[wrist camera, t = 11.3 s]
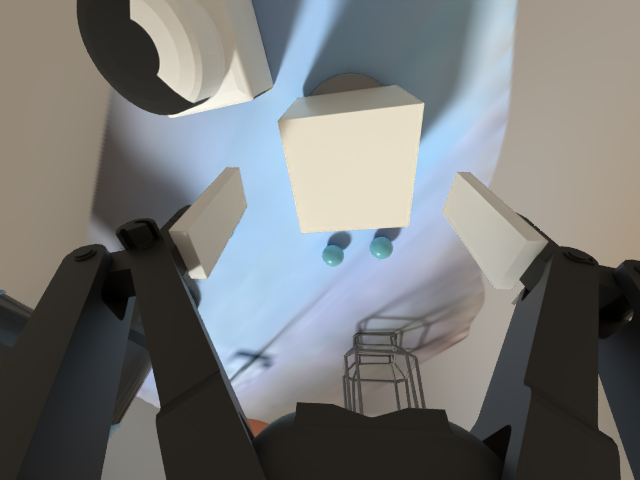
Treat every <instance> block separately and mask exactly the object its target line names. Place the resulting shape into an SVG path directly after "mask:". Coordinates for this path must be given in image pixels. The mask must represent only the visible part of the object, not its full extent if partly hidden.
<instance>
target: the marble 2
mask: <svg viewBox="0 0 640 480" xmlns="http://www.w3.org/2000/svg"><path fill="white" fill-rule="evenodd" d="M392 251H393V245H392V243H391V241H390V240H389V239H388V238H386V237H377V238H375V239H374V240H373V241H372V242H371V244H370V252H371V254H372V255H373V256H374V257H375V258H378V259H385V258H387V257H389V256H390V255H391V253H392Z"/></svg>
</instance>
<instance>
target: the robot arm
mask: <svg viewBox="0 0 640 480" xmlns="http://www.w3.org/2000/svg"><path fill="white" fill-rule="evenodd" d="M246 208H247V203H246V199H245V194H244V189H243V184H242V180H241V175H240V170H239V168H238V167H226V168H225V170H224V171H223V172H222V173H221V174H220V175H219V176H218V177H217V178H216V179H215V180H214V182H213V183H212V184H211V185H210V186H209V187H208V188H207V189H206V190H205V191H204V192H203V194H202V195H201V196H200V197H199V198H198V199H197V200H196V201H195V202H194V203H193V204H192V205H187V206H185V207H183V208H182V209H180V210H179V211H178V212H177V213H176V214H175V215H174V217H172V218H171V219H170V220H169V222H167V223H166V224H165V225H164V226H163V227H162V228H161V229H160V230H159V229H158V227H157V225H156V223H155V221H154V220H152V219H138V220H133V221H131V222H128V223H126V224H124V225H122V226H120V227H119V228H118V229H117V231H116V235H117V237H118V239H119V240H120V242H121V243H122V245H123V246H124V248H125V249H126V250H124V251H118V252H112V253H109V252H108V250H107V249H106V247H105V246H103V245H100V244H93V245H88V246H83V247H80V248H79V249H76V250H74V251H73V252H71V253H70V254H68V255H67V256H66V257H65V258H64V259H63V261H62V263H61V264H60V266H59V268H58V270H57V271H56V273H55V275H54V277H53V278H52V280H51V282H50V284H49V285H48V287H47V289H46V291H45V292H44V294H43V296H42V297H41V299H40V301H39V303H38V305H37V306H36V308H35V310H34V309H32V308H30V307H28V306H26V305H25V304H23V303H21V302H19V301H17V300H15V299H14V298H12V297H10V296H8V295H6V294H4V293H6V292H5V291H4V290H0V480H101V475H102V469H103V463H104V459H105V454H106V449H107V443H108V441H109V440H110V438H111V437H112V435H113V434H114V432H115V431H116V429H117V428H118V427H119V426H120V425H121V421H122V419H123V417H124V416H125V414H126V412H127V410H128V409H129V407H130V405H131V403H132V402H133V400H134V398H135V397H136V395H137V393H138V391H139V390H140V388H141V386H142V384H143V383H144V381H145V379H146V377H147V376H148V374H149V372H150V371H151V369H153V373H154V378H155V382H156V387H157V391H158V396H159V400H160V406H161V408H160V411H159V413H158V414H157V415H156V427H157V434H158V439H159V444H160V449H161V455H162V460H163V464H164V470H165V475H166V480H621V477H620V456H619V451H618V447H617V445H616V443H615V442H614V440H613V439H612V438H611V437H609V436H607V435H606V434H604V433H603V432H601V431H599V429H598V374H599V377H600V379H601V382H602V385H603V388H604V391H605V394H606V397H607V400H608V403H609V406H610V409H611V412H612V414H613V417H614V420H615V423H616V426H617V429H618V432H619V435H620V438H621V440H622V444H623V446H624V450H625V452H626V455H627V458H628V461H629V464H630V467H631V470H632V473H633V476H634V479H635V480H640V261H637V260H625V261H624V262H623V263H621V264H620V265H619V266H618V267H617V268H611V267H606V266H601V265H599V264H598V262H597V261H596V260H595V259H594V258H593V257H592V256H590V255H588V254H587V253H585V252H582V251H580V250H578V249H574V248H571V247H563V246H561V247H560V246H558V245H557V244H556V243H555V242H554V241H552V240H551V239H550V238H549V237H548V236H547V235H546V234H544V233H543V232H542V231H540V229H539V228H537V227H536V226H534V224H533V223H532V222H530V221H529V220H528V219H527V218H525V217H523V216H522V215H520V214H518V213H516V212H514V211H513V210H512V209H511V208H510V207H509V206H508V205H506V204H505V203H504V202H503V201H502V200H501V199H500V198H498V197H497V196H496V195H495V194H494V193H493V192H492V191H490V190H489V189H488V188H487V187H486V186H485V185H484V184H483V183H482V182H480V181H479V180H478V179H477V178H476V177H475V176H474V175H472V174H471V173H470V172H457V173H456V175H455V178H454V181H453V183H452V186H451V189H450V192H449V194H448V197H447V200H446V202H445V205H444V208H443V210H442V212H443V214H444V215H445V217H446V218H447V220H448V221H449V223H450V224H451V226H452V227H453V229H454V230H455V231H456V233H457V234H458V236H459V237H460V239H461V240H462V242H463V243H464V245H465V246H466V248H467V249H468V251H469V252H470V253H471V255H472V256H473V258H474V259H475V261H476V262H477V264H478V265H479V267H480V268H481V270H482V271H483V273H484V274H485V275H486V277H487V278H488V280H489V281H490V283H491V284H492V286H493V287H494V289H507V290H512V289H513V288H514V287H515V285H516V284H517V283H518V281H519V280H520V281H521V282H522V283H523V284H524V286H525V287H524V289H523V290H522V291H521V292H520V294H519V295H518V296H517V297H516V299H515V300H514V301H513V302H512V304H513V305H515V304H516V303H517V304H516V307H515V310H514V313H513V316H512V319H511V322H510V325H509V328H508V331H507V334H506V337H505V340H504V343H503V346H502V349H501V352H500V355H499V358H498V361H497V364H496V367H495V370H494V372H493V376H492V378H491V382H490V385H489V388H488V390H487V393H486V396H485V399H484V402H483V405H482V408H481V411H480V414H479V417H478V420H477V421H476V423H475V425H474V426H473V428H472V429H471V431H470V432H468V431H467V430H465V429H463V428H462V427H460V426H458V425H456V424H453V423H451V422H449V421H448V418H447V415H446V412H445V410H441V409H440V410H439V409H421V408H406V409H402V410H399V411H395V412H391V413H388V414H384V415H381V416H377V417H367V416H364V415H362V414H359V413H356V412H353V411H350V410H348V409H345V408H342V407H339V406H337V405H334V404H321V403H301V402H297V406H296V412H293V413H290V414H287V415H285V416H282V417H280V418H279V419H277V420H275V421H274V422H272V423H271V424H269V425H268V426H267V427H265V428H264V429H263V430H262V431H261V432H260V433H259V434H258V435H257V436H256V437H255V436H254V433H253V431H252V429H251V427H250V425H249V423H248V420H247V418H246V416H245V414H244V412H243V410H242V408H241V406H240V403H239V401H238V399H237V397H236V395H235V392H234V390H233V388H232V386H231V383H230V381H229V379H228V377H227V374H226V372H225V370H224V368H223V365H222V363H221V361H220V359H219V356H218V354H217V352H216V350H215V347H214V345H213V343H212V341H211V338H210V336H209V334H208V332H207V329H206V327H205V325H204V323H203V320H202V318H201V316H200V314H199V311H198V309H197V307H196V303H195V301H194V299H193V298H192V296H191V294H190V291H189V289H188V287H187V285H186V282H185V280H184V278H183V275H184V273H185V272H186V270H187V271H188V273H189V275H190V277H191V279H208V277H209V275H210V273H211V271H212V270H213V268H214V266H215V264H216V262H217V261H218V259H219V257H220V255H221V253H222V252H223V250H224V248H225V246H226V244H227V242H228V241H229V239H230V237H231V235H232V233H233V232H234V230H235V228H236V226H237V224H238V223H239V221H240V219H241V217H242V215H243V213H244V212H245V210H246ZM632 316H633V317H632ZM631 317H632V319H631V321H629V319H630V318H631Z"/></svg>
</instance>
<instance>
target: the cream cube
mask: <svg viewBox="0 0 640 480" xmlns="http://www.w3.org/2000/svg"><path fill="white" fill-rule="evenodd" d="M423 111H424V102H422V101H421V100H419V99H418V98H416V97H414V96H413V95H411V94H410V93H408V92H407V91H405V90H404V89H402V88H401V87H399V86H398V85H391V86H384V87H376V88H369V89H361V90H354V91H346V92H339V93H331V94H324V95H316V96H308V97H301V98H297V99H296V100H295V101H294V102H293V104H292V105H291V106H290V107H289V108H288V109H287V111H286V112H285V113H284V114H283V115H282V116H281V118H280V119H279V120H278V125H279V130H280V135H281V139H282V144H283V149H284V153H285V158H286V163H287V168H288V172H289V177H290V182H291V186H292V191H293V196H294V200H295V205H296V210H297V215H298V219H299V224H300V229H301V233H310V232H327V231H344V230H360V229H377V228H394V227H409V220H410V212H411V204H412V197H413V189H414V181H415V173H416V165H417V158H418V150H419V142H420V134H421V126H422V119H423Z"/></svg>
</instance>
